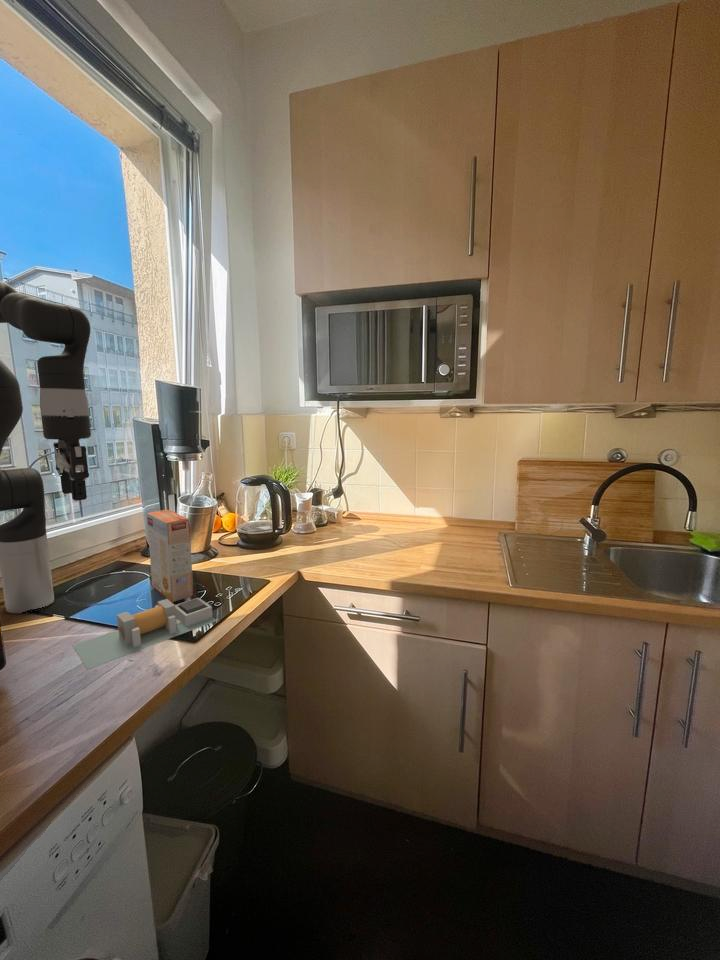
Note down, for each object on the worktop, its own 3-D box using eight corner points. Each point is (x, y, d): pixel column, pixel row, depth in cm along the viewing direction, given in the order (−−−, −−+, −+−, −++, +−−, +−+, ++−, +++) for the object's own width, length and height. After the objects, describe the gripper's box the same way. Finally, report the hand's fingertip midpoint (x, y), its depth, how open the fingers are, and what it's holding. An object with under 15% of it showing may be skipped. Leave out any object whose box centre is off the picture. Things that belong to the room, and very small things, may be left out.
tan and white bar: (119, 637, 85) (116, 614, 84) (168, 619, 92) (167, 598, 91) (126, 645, 82) (123, 622, 81) (176, 626, 89) (175, 605, 88)
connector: (180, 616, 94) (179, 604, 93) (197, 610, 97) (196, 598, 96) (188, 622, 91) (187, 610, 91) (205, 616, 94) (204, 604, 94)
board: (72, 649, 82) (70, 629, 81) (195, 607, 100) (194, 590, 99) (87, 673, 75) (85, 651, 74) (217, 623, 92) (216, 605, 92)
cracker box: (195, 598, 105) (190, 518, 101) (170, 605, 101) (165, 522, 97) (174, 581, 115) (169, 508, 111) (151, 587, 111) (145, 511, 107)
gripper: (34, 413, 81) (43, 493, 84) (49, 414, 71) (59, 505, 74) (79, 413, 87) (86, 489, 89) (98, 414, 77) (106, 499, 80)
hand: (74, 496), depth 82 cm, fingers open, 8 cm apart
